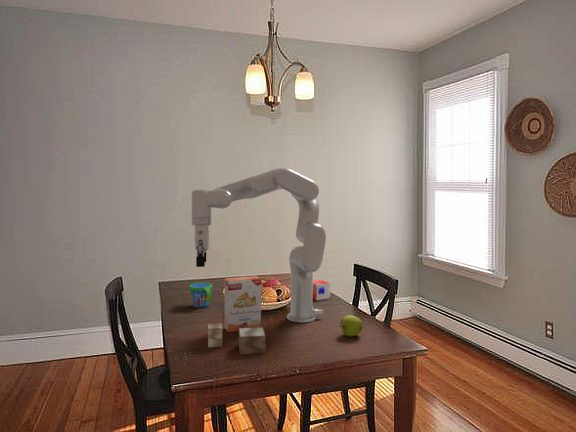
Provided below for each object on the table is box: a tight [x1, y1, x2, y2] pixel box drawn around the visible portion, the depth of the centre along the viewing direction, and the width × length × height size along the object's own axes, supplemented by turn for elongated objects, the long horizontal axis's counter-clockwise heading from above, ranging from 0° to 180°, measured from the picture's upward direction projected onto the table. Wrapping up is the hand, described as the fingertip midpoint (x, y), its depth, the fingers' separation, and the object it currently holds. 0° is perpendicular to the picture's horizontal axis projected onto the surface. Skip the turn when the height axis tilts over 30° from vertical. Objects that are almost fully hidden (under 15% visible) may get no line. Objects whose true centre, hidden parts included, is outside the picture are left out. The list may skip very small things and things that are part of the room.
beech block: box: [207, 323, 223, 348], centre depth 168 cm, size 5×5×7 cm
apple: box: [339, 314, 364, 337], centre depth 178 cm, size 8×9×8 cm
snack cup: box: [188, 282, 213, 309], centre depth 217 cm, size 16×10×10 cm
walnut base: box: [238, 326, 267, 355], centre depth 164 cm, size 9×9×6 cm
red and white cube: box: [313, 279, 331, 301], centre depth 234 cm, size 8×8×8 cm
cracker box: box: [224, 275, 262, 333], centre depth 185 cm, size 14×6×21 cm, turn 113°
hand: (201, 264), depth 181 cm, fingers open, 9 cm apart
